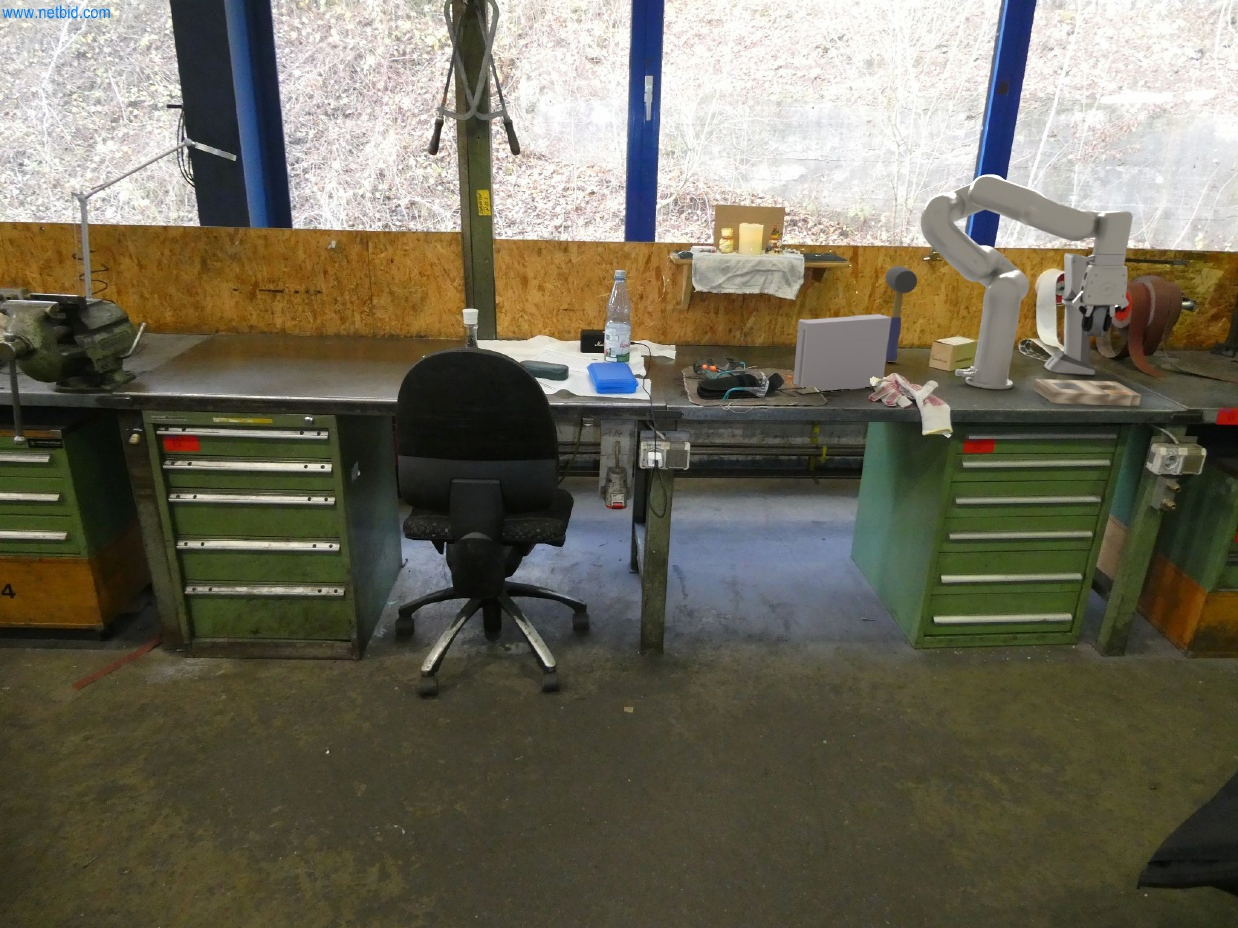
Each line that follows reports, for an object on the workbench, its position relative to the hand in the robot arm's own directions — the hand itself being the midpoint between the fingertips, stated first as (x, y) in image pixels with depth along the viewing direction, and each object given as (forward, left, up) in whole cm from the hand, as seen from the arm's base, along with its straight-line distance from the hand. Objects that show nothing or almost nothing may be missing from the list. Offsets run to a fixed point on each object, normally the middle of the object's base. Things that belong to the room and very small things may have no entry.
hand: (1095, 330), depth 216 cm
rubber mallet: (-44, +35, -19) cm, 59 cm away
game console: (-66, +1, -19) cm, 68 cm away
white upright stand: (+10, +32, -19) cm, 39 cm away
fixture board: (+1, 0, -19) cm, 19 cm away
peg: (0, 0, -1) cm, 1 cm away
